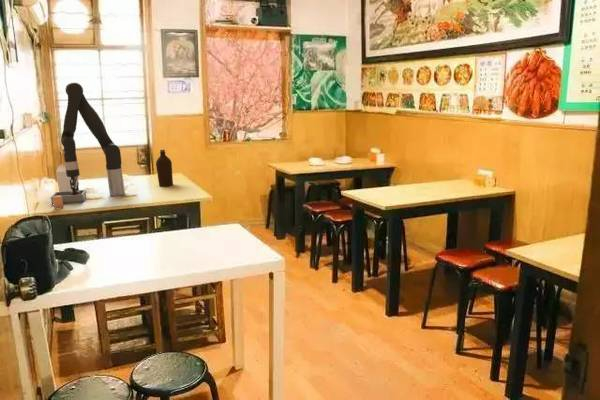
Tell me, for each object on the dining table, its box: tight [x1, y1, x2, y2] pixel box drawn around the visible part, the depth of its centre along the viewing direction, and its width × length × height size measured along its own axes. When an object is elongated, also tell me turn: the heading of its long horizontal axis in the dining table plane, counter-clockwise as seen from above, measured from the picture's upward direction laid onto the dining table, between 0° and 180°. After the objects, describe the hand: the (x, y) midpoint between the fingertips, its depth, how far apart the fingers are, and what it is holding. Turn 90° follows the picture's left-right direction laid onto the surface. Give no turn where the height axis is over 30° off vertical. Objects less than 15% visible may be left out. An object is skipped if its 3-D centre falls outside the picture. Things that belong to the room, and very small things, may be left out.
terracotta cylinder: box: [53, 195, 64, 209], centre depth 292 cm, size 5×5×7 cm
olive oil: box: [155, 149, 174, 188], centre depth 341 cm, size 11×11×25 cm
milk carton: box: [55, 164, 74, 192], centre depth 332 cm, size 7×7×19 cm
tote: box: [50, 189, 87, 205], centre depth 308 cm, size 18×14×5 cm
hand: (76, 193), depth 309 cm, fingers open, 8 cm apart
